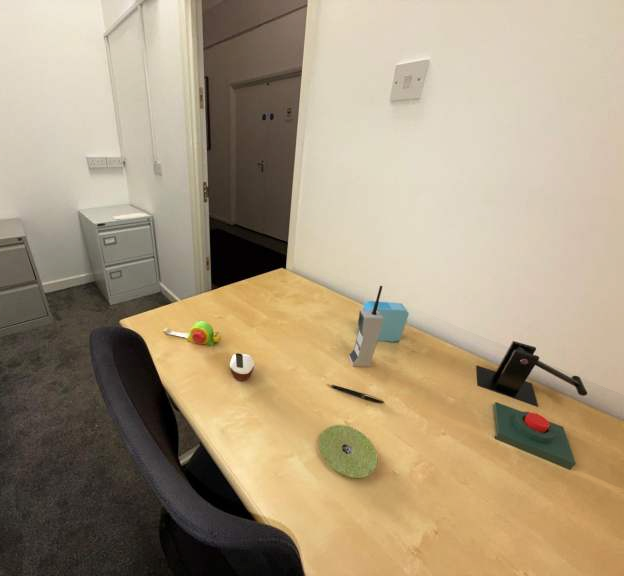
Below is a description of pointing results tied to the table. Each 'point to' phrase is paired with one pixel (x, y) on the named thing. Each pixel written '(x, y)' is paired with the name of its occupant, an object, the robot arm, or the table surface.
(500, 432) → the control block
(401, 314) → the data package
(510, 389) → the switch bracket
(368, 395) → the fountain pen
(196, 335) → the toy measuring tape
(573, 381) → the switch lever
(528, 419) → the button
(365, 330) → the vintage mobile phone
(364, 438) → the green grinding wheel
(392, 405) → the table surface
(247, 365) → the cupcake
